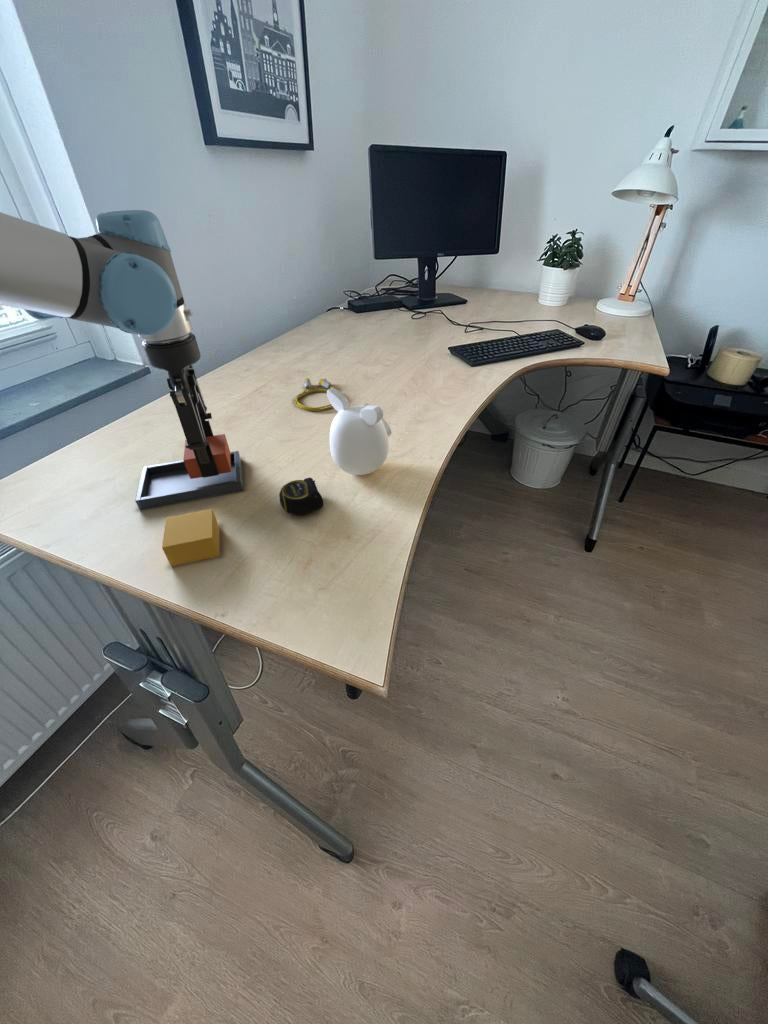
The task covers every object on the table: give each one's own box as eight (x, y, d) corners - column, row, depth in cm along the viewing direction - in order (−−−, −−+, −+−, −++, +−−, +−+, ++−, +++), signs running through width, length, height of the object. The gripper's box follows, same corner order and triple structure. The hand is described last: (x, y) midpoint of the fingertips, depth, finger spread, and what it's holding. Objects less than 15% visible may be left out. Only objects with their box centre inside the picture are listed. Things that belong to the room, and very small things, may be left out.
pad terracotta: (190, 479, 77) (183, 460, 74) (192, 458, 82) (185, 440, 79) (231, 471, 78) (225, 453, 75) (230, 452, 83) (224, 433, 81)
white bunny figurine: (402, 459, 86) (403, 387, 76) (375, 492, 78) (372, 416, 68) (348, 445, 90) (342, 376, 80) (317, 475, 82) (306, 402, 72)
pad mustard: (171, 566, 65) (161, 547, 62) (174, 536, 70) (165, 517, 67) (219, 556, 66) (212, 537, 64) (219, 527, 71) (212, 508, 69)
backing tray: (139, 509, 75) (135, 501, 74) (146, 475, 83) (143, 466, 82) (243, 490, 79) (240, 481, 77) (240, 459, 87) (238, 450, 86)
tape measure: (326, 513, 73) (323, 496, 71) (285, 523, 72) (282, 505, 69) (316, 490, 78) (314, 473, 76) (278, 499, 77) (274, 482, 74)
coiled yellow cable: (351, 385, 113) (351, 378, 111) (334, 414, 101) (334, 406, 99) (306, 383, 114) (305, 375, 113) (285, 410, 103) (284, 402, 101)
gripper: (191, 356, 58) (233, 491, 73) (196, 314, 73) (230, 434, 88) (131, 363, 57) (187, 499, 72) (148, 319, 71) (191, 440, 86)
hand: (210, 463), depth 80 cm, fingers closed on pad terracotta, 7 cm apart
